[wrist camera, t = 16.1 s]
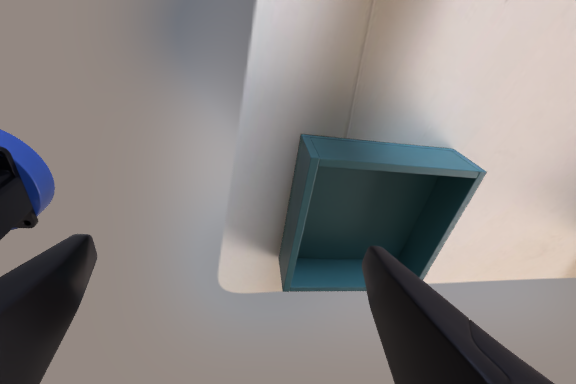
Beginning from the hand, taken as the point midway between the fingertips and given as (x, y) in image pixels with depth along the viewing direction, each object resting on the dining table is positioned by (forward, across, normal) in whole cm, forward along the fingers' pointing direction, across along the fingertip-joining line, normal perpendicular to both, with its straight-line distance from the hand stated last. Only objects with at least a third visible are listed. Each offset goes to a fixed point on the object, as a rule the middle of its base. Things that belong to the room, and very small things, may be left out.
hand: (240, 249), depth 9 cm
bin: (+13, -11, +7) cm, 19 cm away
